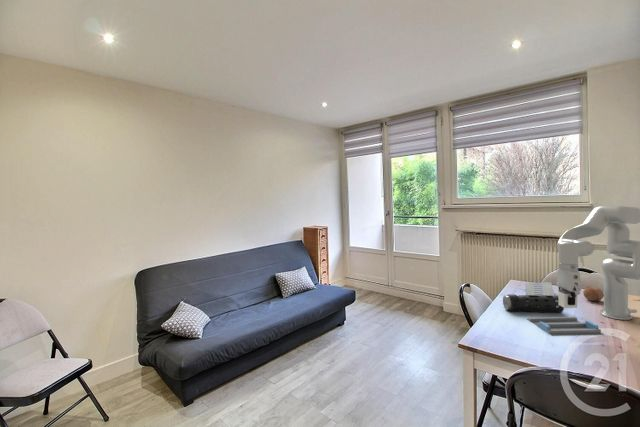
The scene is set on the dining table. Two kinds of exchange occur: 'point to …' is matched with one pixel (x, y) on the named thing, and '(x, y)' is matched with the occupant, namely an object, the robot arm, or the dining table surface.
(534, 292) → the warehouse
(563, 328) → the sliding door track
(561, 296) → the grey rectangular prism
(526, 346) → the dining table surface
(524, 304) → the muzzle brake
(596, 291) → the onion
